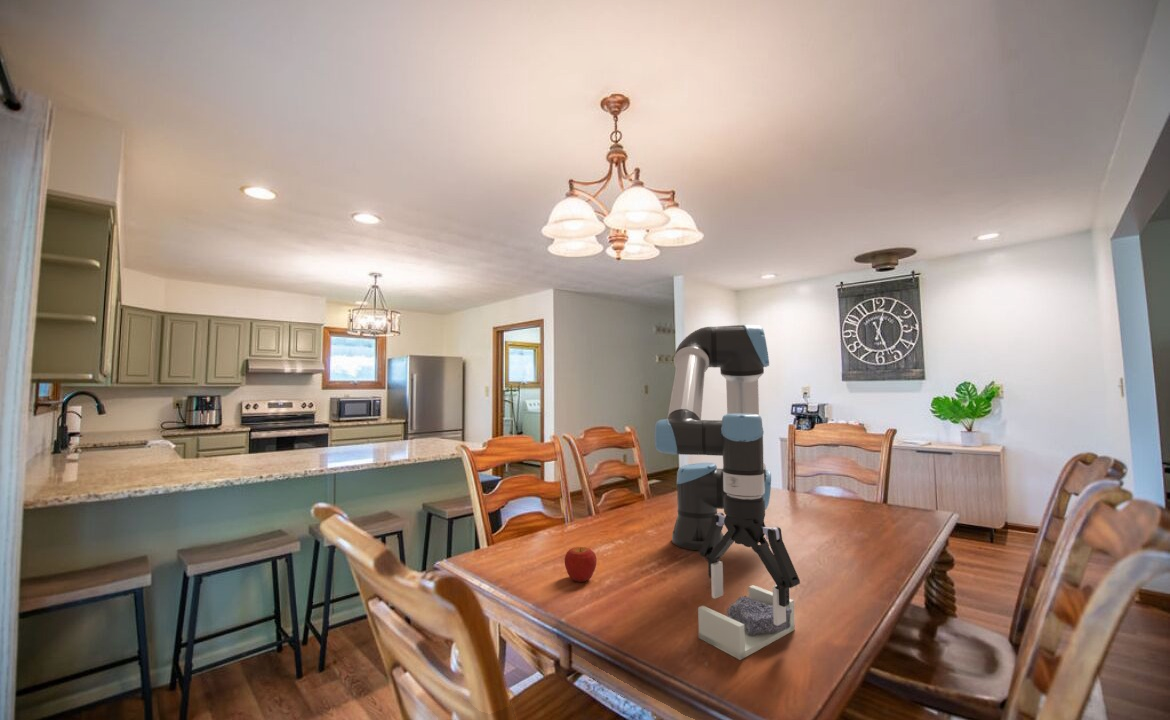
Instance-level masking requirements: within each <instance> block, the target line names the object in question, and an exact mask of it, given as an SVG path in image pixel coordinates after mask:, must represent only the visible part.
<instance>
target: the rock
mask: <svg viewBox="0 0 1170 720" xmlns="http://www.w3.org/2000/svg"><path fill="white" fill-rule="evenodd" d="M726 610H727V611H726V616H727V617H729V618H731V619H734V620H736V621H738V622H740V623H742V624H744V630H745V631H746V632H747V634H748V635H749V636H754V635H756V634H758V633H774V632H777V631H781V630H786V629H788V628H789V627H790V624H789V621H790V614H791V612H792V610H791V608H787V607H786V622H784V623H782V624H780V625H778V626H777V625H774V617H773V605H766V604H765V603H762V602H759V601H754V600H752V599H751V598H749V596H747V595H744V596H742V595H741V596H739V597H738V598H737V600H736V601H735V602H732V603H731V604H730V605H729V607H728V608H727V609H726Z"/></svg>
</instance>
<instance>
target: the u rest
mask: <svg viewBox="0 0 1170 720" xmlns="http://www.w3.org/2000/svg"><path fill="white" fill-rule="evenodd" d="M748 597H749V598H751V599H752V600H754V601H759V602H762V603H765V604H766V605H773V591H770V590H767V589H765V588H764V587H763V588H762V587H760V586H757V585H754V584H752V585H749V586H748ZM789 600H790V603H789V605H787V606H786V607H787V608H791V610H792V612H791V614H790V621H789V624H790V627H789V628H788V629H786V630H781V631H777V632H774V633H758V634H756V635H754V636H749V635H748V634H747V632H746V631H745V630H744V624H742V623H740V622H738V621H736V620H734V619H731V618H729V617H728V615H726V614H723V613H720V612H718V611H716V610H714V609H711V608H709V607H707V606H705V605H701V606H699V607H698V608H697V611H698V612H697V613H698V614H697V616H698V619H697V622H698V639H700V640H702V641H703V642H705V643H707V644H709V645H711V646H713V647H715V648H717V649H719V650H720V651H722V652H723V653H726V654H728V655H730V656H732V657H734V658H736V659H737V660H739V661H742V660H743V659H745V658H747V657H749V656H751V655H752V654H753V653H756V652H758V651H759V650H761V649H762V648H765V647H767V646H768V645H770V644H771V643H772V644H773V642H776V641H777V640H779V639H781V638H783V637H784V636H786V635H788V634H790V633H792V632H793V631H795V630H796V628H795V626H796V625H795V623H796V621H795V600H794V599H791V598H789Z"/></svg>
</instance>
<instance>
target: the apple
mask: <svg viewBox="0 0 1170 720" xmlns="http://www.w3.org/2000/svg"><path fill="white" fill-rule="evenodd" d="M564 566H565V571H566V573H567V574H568V576H569V578H571V580H572V581H575V582H579V583H583V582H586V581H588V580H589V579H591V578H592V576H593V575H594V573H595V570H596V566H597V555H596V554H595V552H594V551H593V550H592V549H591V548H589V547H581V546H576V547H572V548H569V550H568V551H567V552H566V553H565V555H564Z"/></svg>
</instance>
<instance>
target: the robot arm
mask: <svg viewBox="0 0 1170 720" xmlns="http://www.w3.org/2000/svg"><path fill="white" fill-rule="evenodd" d="M673 366H674V367H675V372H674V373H675V374H674V379H673V383H672V388H671V389H672V390H671V396H670V400H669V401H670V402H669V406H668V407H669V408H668V412H667V413H668V414H667V417H666V418H665V419H658V420H657V421H656V422H655V427H654V444H655V449H656V451H657V452H658V453H661V454H668V455H669V454H670V455H675V456H677V455H687V456H688V455H693V456H695V455H697V456H705V455H706V456H715V457H716V456H719V457H720V456H721V457H722V463H723V464H722V468H717V464H716V463H714V462H695V463H691V464H684V465H682V466H680V467H679V468H678V470H677V471H676V486H677V488H676V493H677V494H676V495H677V500H676V501H677V516H676V519H675V524H674V528H673V531H672V532H671V533H672V534H671V537H672V539H671V542H672V543H673V544H674V545H675V546H677V547H679V548H682V549H685V550H690V551H699V556H701V558H705V559H706V561H707V563H708V576H709V577H708V578H710V579H711V580H710V582H711V598H713V599H714V600H715V599H717V598H720V597H722V596H724V571H723V570H724V564H723V561H720V560H721V558H722V556H723V555H724V554H725V553H726V552H727V550H729V548H730V547H731V546H732V545H733V544H736V545H742V546H744V547H747V548H751V549H752V551H753V552H754V553H756V554H757V556H758V557H759V559H760V561H761V562H762V564H763V565H764V567H765V568H766V570H767V572H768V574H769V575H770V577H771V578H772V580H773V582H774V583H775V585H773V586H772V592H773V617H774V625H777V626H778V625H780V624H782V623H784V622H786V606H787V605H789V603H790V600H789V599H790V589H792V588H794V587H796V586H798V585H800V584H801V580H800V578H799V576H798V574H797V571H796V569H795V566H794V564H793V562H792V559H791V557H790V555H789V553H788V550H787V547H786V545H785V543H784V541H783V535H782V529H781V527H780V526H775V527H771V526H770V527H768V526H766V524H765V516H766V510H767V509H768V507H769V504H770V500H771V499H770V498H771V492H772V491H771V489H772V473H771V471H770V470H768V469H766V464H765V463H764V433H765V432H764V428H763V419H762V416H760V409H759V405H760V404H759V401H760V400H759V399H760V398H759V379H760V378H761V377H762V376H763V374H764V373H765V372H764V369H765V368H767V367H770V360H769V351H768V346H767V341H766V335H765V331H764V328H763V327H762V326H761V325H758V324H757V325H756V324H738V325H737V324H736V325H735V324H734V325H733V324H732V325H721V326H719V325H718V326H705V327H701V328H699V329H696V330H694V331H692V332H691V333H689V334H688V335H687V336H686V337H685V338H684V339H683V340H682V341H681V342H680V343H679V344H678V346H677V348H676V350H675V351H674V356H673ZM709 368H714V369H715V368H719V369H720V375H721V376H722V377H723V378H725V380H726V412H727V413H725V414H724V415H723V416H722V419H721V420H720V419H719V420H718V419H717V420H707V419H704V420H703V419H702V410H703V399H704V386H705V373H706V372H707V370H708V369H709ZM718 509H719V510H723V512H719V513H718ZM724 526H725V528H726V530H727V531H726V532H725V533H724V534H723V532H722V531H723V528H724Z"/></svg>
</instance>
